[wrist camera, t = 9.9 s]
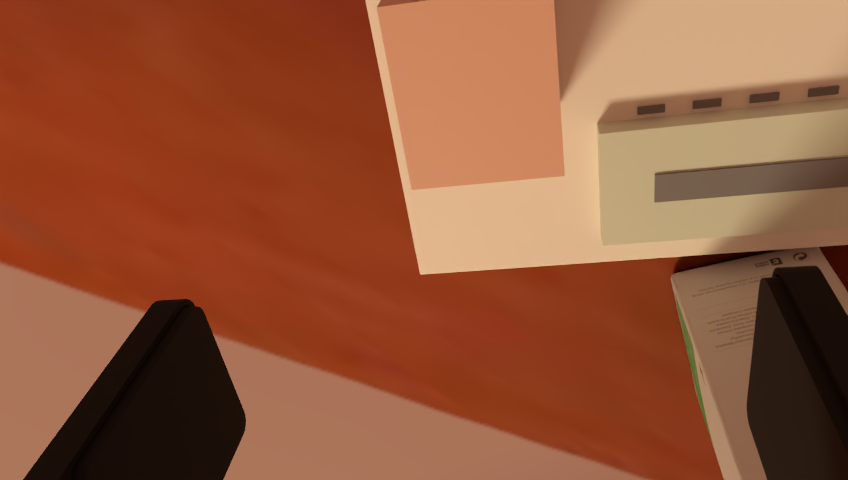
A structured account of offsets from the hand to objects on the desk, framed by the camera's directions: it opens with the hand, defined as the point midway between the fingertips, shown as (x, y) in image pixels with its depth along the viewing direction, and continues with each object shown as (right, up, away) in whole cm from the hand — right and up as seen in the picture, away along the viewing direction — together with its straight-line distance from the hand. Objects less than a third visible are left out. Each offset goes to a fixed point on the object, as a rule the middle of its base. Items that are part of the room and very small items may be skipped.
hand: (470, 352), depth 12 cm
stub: (+1, +9, +14) cm, 16 cm away
